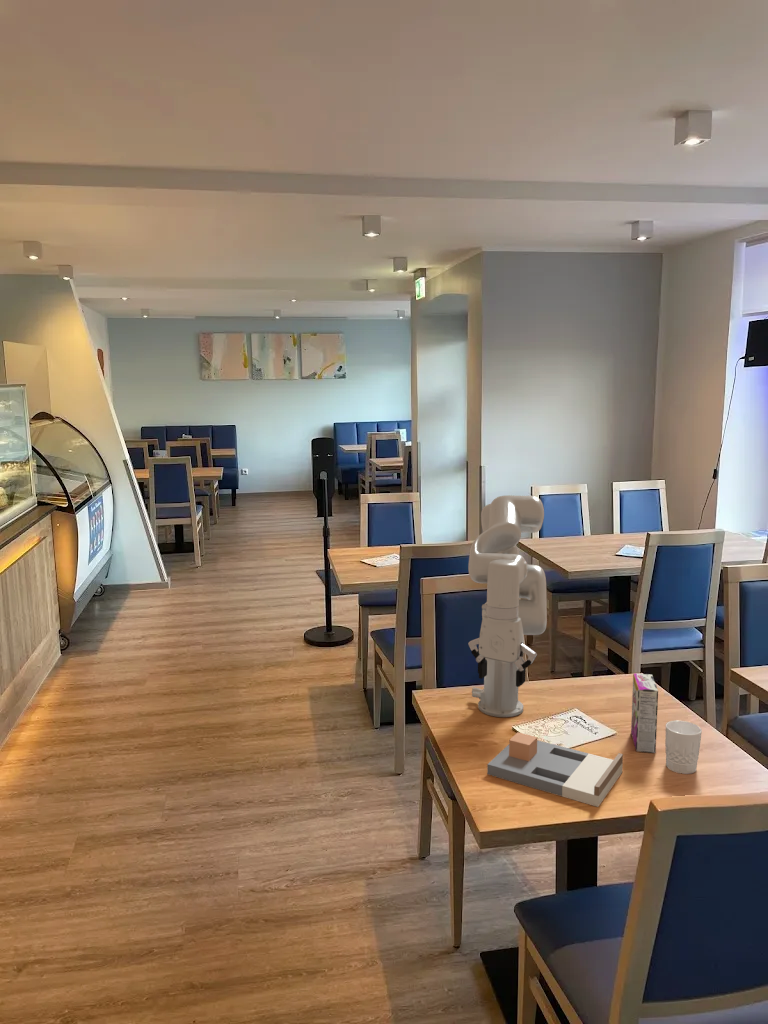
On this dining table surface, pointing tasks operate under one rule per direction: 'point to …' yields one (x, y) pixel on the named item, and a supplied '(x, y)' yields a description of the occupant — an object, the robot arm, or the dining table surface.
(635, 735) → the candy bar box
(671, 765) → the white cup
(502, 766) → the board
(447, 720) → the dining table surface
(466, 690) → the dining table surface
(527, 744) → the block
